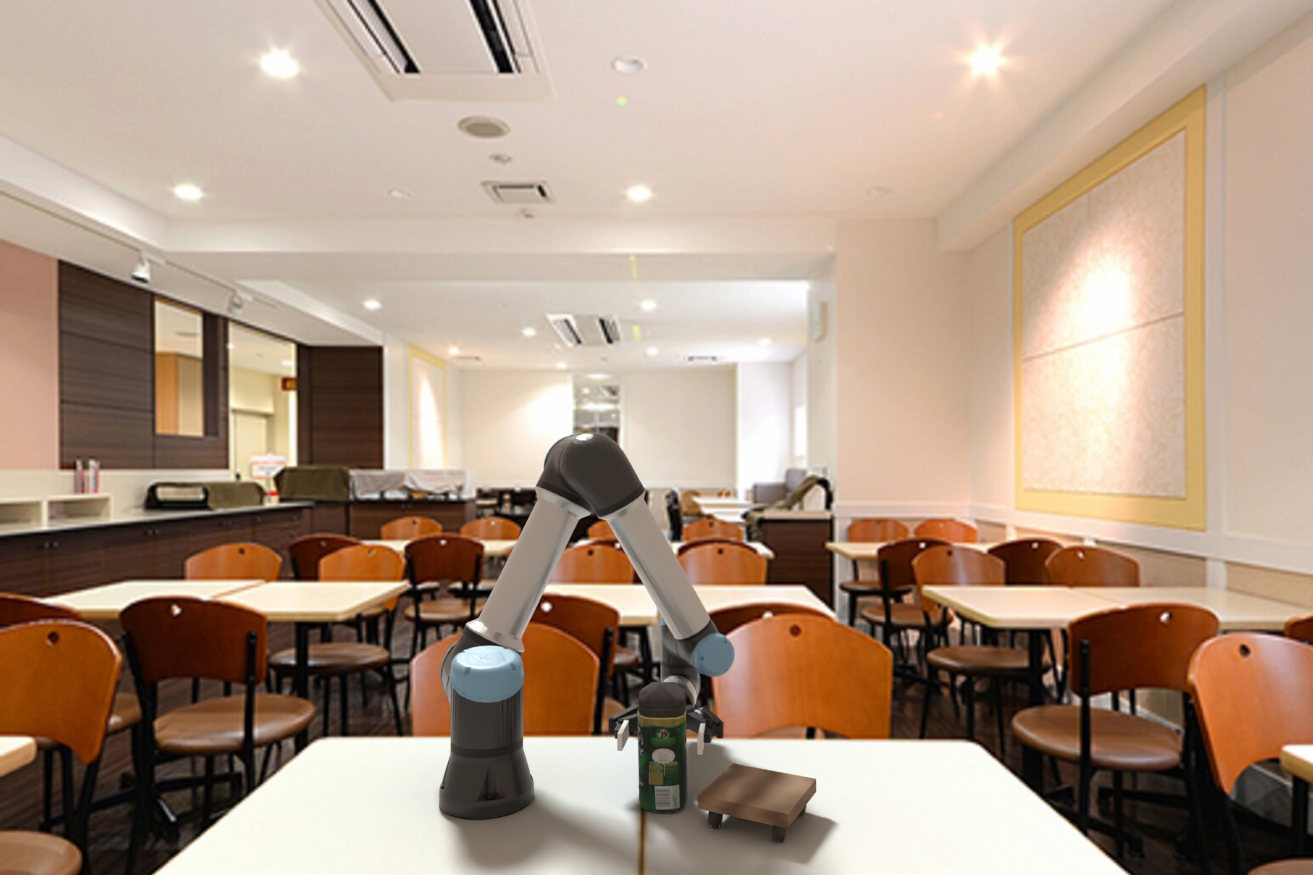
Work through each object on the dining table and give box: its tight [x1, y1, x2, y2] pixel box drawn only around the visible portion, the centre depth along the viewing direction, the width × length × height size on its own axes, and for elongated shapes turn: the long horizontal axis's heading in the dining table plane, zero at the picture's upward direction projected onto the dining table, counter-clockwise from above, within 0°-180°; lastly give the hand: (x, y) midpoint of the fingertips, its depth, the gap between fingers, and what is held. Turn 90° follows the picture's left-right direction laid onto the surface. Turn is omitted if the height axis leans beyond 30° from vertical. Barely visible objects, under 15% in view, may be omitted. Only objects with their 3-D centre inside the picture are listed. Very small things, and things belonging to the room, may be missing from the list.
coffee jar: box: [637, 681, 688, 814], centre depth 128 cm, size 10×8×19 cm
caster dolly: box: [697, 763, 817, 843], centre depth 121 cm, size 14×14×5 cm
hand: (659, 743), depth 124 cm, fingers open, 12 cm apart
